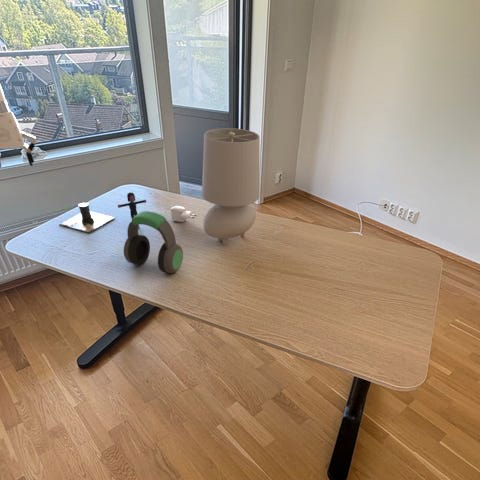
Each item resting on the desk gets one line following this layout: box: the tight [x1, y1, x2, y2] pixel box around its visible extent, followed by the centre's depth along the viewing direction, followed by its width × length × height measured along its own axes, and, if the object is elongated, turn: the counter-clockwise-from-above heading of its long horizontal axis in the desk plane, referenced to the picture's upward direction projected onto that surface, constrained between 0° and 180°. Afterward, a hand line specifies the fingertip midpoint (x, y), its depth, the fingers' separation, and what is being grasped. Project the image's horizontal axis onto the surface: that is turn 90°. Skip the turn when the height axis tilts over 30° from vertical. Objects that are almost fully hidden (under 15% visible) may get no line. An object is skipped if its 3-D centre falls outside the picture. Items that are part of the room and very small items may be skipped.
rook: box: [78, 202, 93, 223], centre depth 147 cm, size 5×5×7 cm
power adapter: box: [170, 205, 198, 223], centre depth 152 cm, size 11×5×6 cm, turn 70°
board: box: [59, 210, 116, 235], centre depth 149 cm, size 16×16×1 cm
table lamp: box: [201, 127, 261, 246], centre depth 129 cm, size 23×22×40 cm
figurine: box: [117, 191, 147, 230], centre depth 143 cm, size 12×4×15 cm, turn 123°
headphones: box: [123, 210, 184, 274], centre depth 119 cm, size 19×11×20 cm, turn 70°
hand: (16, 165), depth 118 cm, fingers open, 9 cm apart
